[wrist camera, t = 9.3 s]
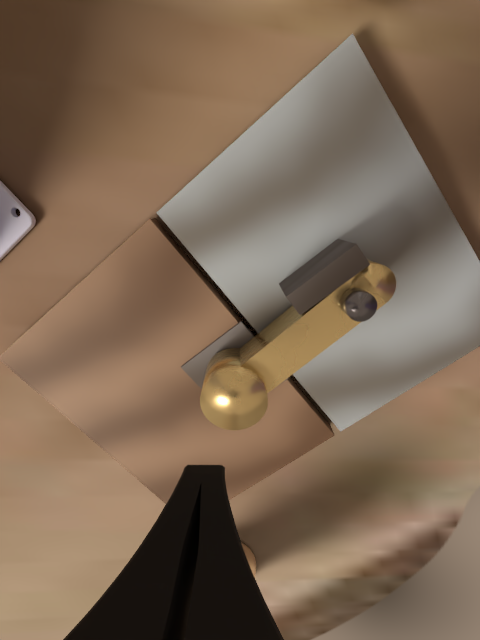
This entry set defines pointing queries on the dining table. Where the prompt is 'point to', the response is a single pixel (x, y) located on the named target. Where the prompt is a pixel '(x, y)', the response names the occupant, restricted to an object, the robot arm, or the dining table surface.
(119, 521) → the dining table surface
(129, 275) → the door and jamb
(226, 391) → the swing bar
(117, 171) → the dining table surface
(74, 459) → the dining table surface
